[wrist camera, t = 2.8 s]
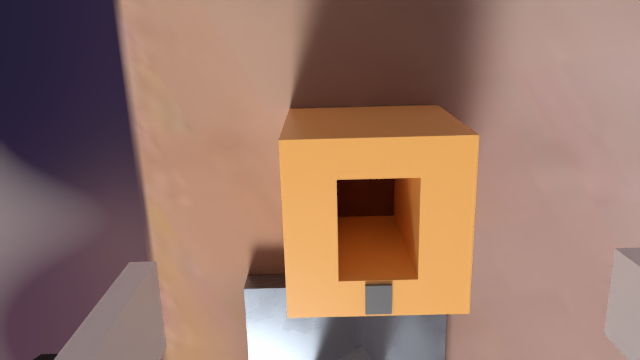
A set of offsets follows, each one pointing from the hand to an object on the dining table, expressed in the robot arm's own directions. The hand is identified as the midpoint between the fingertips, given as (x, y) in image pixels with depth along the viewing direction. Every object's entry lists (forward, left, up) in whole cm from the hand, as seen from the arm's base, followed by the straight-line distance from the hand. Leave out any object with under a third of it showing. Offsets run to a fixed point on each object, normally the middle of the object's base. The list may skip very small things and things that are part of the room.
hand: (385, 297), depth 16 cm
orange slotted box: (0, 0, -12) cm, 12 cm away
